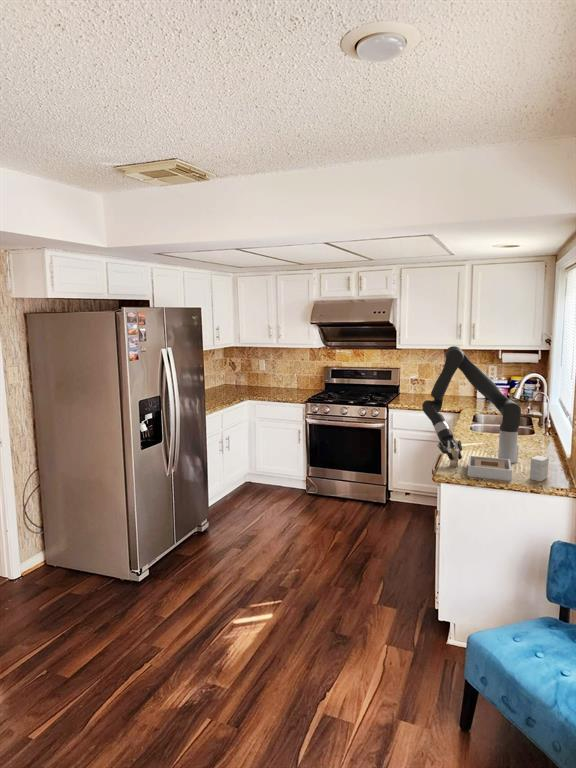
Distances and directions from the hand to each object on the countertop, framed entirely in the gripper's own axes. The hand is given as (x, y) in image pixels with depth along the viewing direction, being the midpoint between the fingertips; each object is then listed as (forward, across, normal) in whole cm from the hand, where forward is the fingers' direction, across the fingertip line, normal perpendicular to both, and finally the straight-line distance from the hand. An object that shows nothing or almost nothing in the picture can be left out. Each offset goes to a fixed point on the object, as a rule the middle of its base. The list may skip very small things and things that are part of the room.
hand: (456, 459), depth 271 cm
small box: (+23, +27, -16) cm, 39 cm away
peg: (+2, 0, +5) cm, 5 cm away
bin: (+13, +10, -6) cm, 17 cm away
